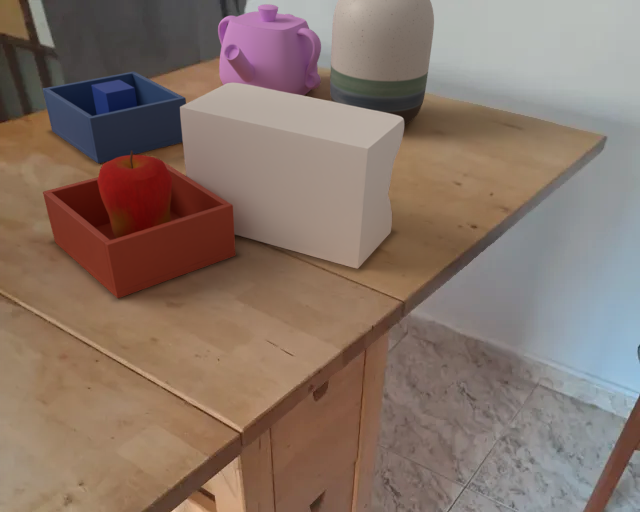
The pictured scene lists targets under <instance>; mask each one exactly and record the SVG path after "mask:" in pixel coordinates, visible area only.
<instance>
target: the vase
mask: <svg viewBox="0 0 640 512" xmlns="http://www.w3.org/2000/svg"><path fill="white" fill-rule="evenodd" d="M434 29H435V13H434V8H433V4H432V1H431V0H337V2H336V4H335V9H334V11H333V17H332V27H331V51H330V76H329V77H330V78H329V92H330V101H332V102H336V103H341V104H346V105H351V106H356V107H360V108H365V109H370V110H375V111H380V112H385V113H390V114H394V115H398V116H401V117H402V118H403V119H404V126H405V125H407V124H409V123H412V121H413V120H415V119H416V117H417V116H418V114H419V113H420V112H421V109H422V106H423V103H424V101H425V94H426V88H427V82H428V76H429V67H430V62H431V61H430V60H431V52H432V46H433V45H432V44H433V38H434Z"/></svg>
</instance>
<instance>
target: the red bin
mask: <svg viewBox="0 0 640 512" xmlns="http://www.w3.org/2000/svg"><path fill="white" fill-rule="evenodd" d="M164 164H165V166H166V168H167V169H168V171H169V173H170V175H171V177H172V193H171V203H170V218H171V221H170V222H167V223H164V224H161V225H158V226H155V227H151V228H148V229H145V230H142V231H139V232H136V233H132V234H129V235H126V236H123V237H120V238H117V239H116V238H115V237H114V234H113V231H112V226H111V222H110V218H109V215H108V212H107V210H106V208H105V205H104V203H103V201H102V198H101V195H100V191H99V187H98V182H97V180H98V176H97V177H93V178H89V179H86V180H82V181H78V182H74V183H70V184H66V185H62V186H59V187H55V188H50V189H47V190H43V191H42V195H43V200H44V203H45V208H46V212H47V215H48V218H49V223H50V227H51V232H52V235H53V240H54V243H55V244H56V245H57V246H58V247H59V248H61V249H62V250H63V251H64V252H65V253H66V254H68V255H69V256H70V258H72V259H73V260H74V261H75V262H76V263H77V264H79V265H80V266H81V267H82V268H83V269H84V270H85V271H86V272H88V273H89V274H90V275H91V276H92V277H93V278H94V279H95V280H96V281H97V282H99V284H101V285H102V286H103V287H104V288H105V289H107V290H108V291H109V292H110V293H111V294H112V295H113V296H114V297H115V298H117V299H120V298H122V297H125V296H128V295H131V294H135V293H138V292H140V291H143V290H145V289H148V288H151V287H153V286H156V285H159V284H161V283H165V282H168V281H169V280H172V279H175V278H178V277H181V276H184V275H186V274H189V273H192V272H194V271H197V270H199V269H202V268H205V267H208V266H211V265H214V264H217V263H219V262H222V261H225V260H227V259H230V258H232V257H233V258H234V257H236V256H237V255H236V239H235V237H236V235H235V234H234V218H233V205H232V204H230V203H228V202H227V201H225V200H224V199H222V198H220V197H219V196H217V195H216V194H214V193H212V192H211V191H209V190H208V189H206V188H205V187H203V186H201V185H200V184H198V183H197V182H195V181H193V180H192V179H190V178H189V177H187V176H186V174H184V173H182V172H181V171H179V170H177V169H176V168H174V167H173V166H171V165H169V164H168V163H166V162H164Z"/></svg>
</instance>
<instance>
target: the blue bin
mask: <svg viewBox="0 0 640 512" xmlns="http://www.w3.org/2000/svg"><path fill="white" fill-rule="evenodd" d="M115 80H121V81H123V82H125V83H126V84H128V85H130V86H132V87H134V88H135V95H136V102H137V107H132V108H127V109H123V110H118V111H114V112H109V113H104V114H100V115H97V113H96V108H95V102H94V96H93V91H92V85H94V84H99V83H105V82H110V81H115ZM42 92H43V97H44V102H45V106H46V110H47V114H48V119H49V125H50V129H51V131H52V133H54V134H55V135H56V136H58V137H60V138H61V139H63V140H64V141H65V142H66V143H68V144H69V145H71V146H72V147H74V148H76V149H77V151H80V152H81V153H82V154H84V155H85V156H87V157H88V158H90V159H91V160H92V161H93V162H95V163H97V164H104V163H106V162H108V161H111V160H113V159H115V158H117V157H121V156H127V155H131V150H132V152H133V155H139V154H141V153H146V152H149V151H150V152H151V151H155V150H157V149H161V148H166V147H169V146H170V147H171V146H173V145H177V144H181V143H182V144H183V139H182V128H181V118H180V107H181V106H183V105H185V104H187V97H185V96H183V95H181V94H179V93H177V92H175V91H173V90H171V89H169V88H168V87H165V86H163V85H161V84H159V83H158V82H156V81H153V80H152V79H149V78H148V77H145V76H144V75H142V74H140V73H138V72H136V71H129V72H124V73H119V74H114V75H108V76H103V77H96V78H91V79H86V80H81V81H75V82H70V83H65V84H60V85H54V86H49V87H48V86H47V87H43V88H42Z"/></svg>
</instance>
